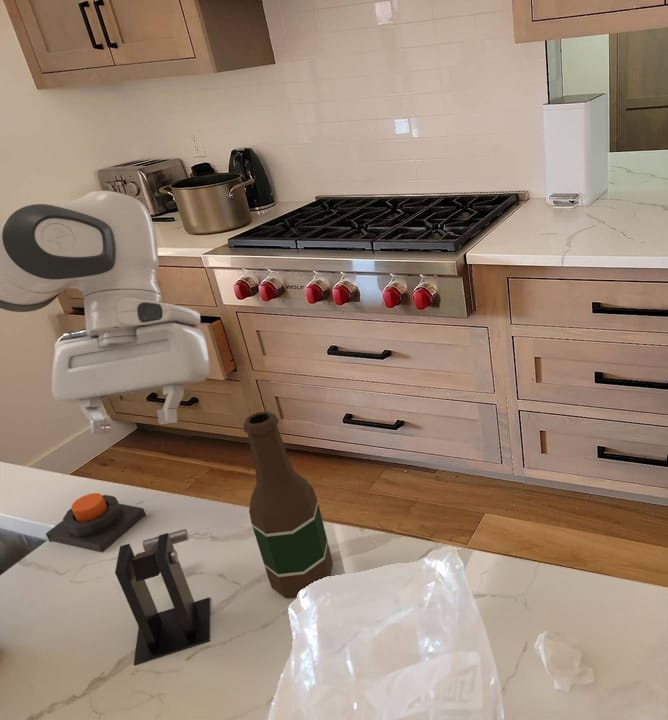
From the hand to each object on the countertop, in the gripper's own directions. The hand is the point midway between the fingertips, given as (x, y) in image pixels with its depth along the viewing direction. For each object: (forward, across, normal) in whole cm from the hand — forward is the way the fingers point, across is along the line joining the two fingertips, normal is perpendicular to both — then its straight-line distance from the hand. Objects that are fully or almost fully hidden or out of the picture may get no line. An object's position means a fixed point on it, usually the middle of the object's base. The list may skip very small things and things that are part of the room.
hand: (134, 429), depth 85 cm
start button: (+10, -15, +10) cm, 20 cm away
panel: (+13, -16, +12) cm, 23 cm away
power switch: (+25, +5, -2) cm, 25 cm away
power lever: (+16, +4, -3) cm, 17 cm away
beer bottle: (+22, +18, +6) cm, 29 cm away
